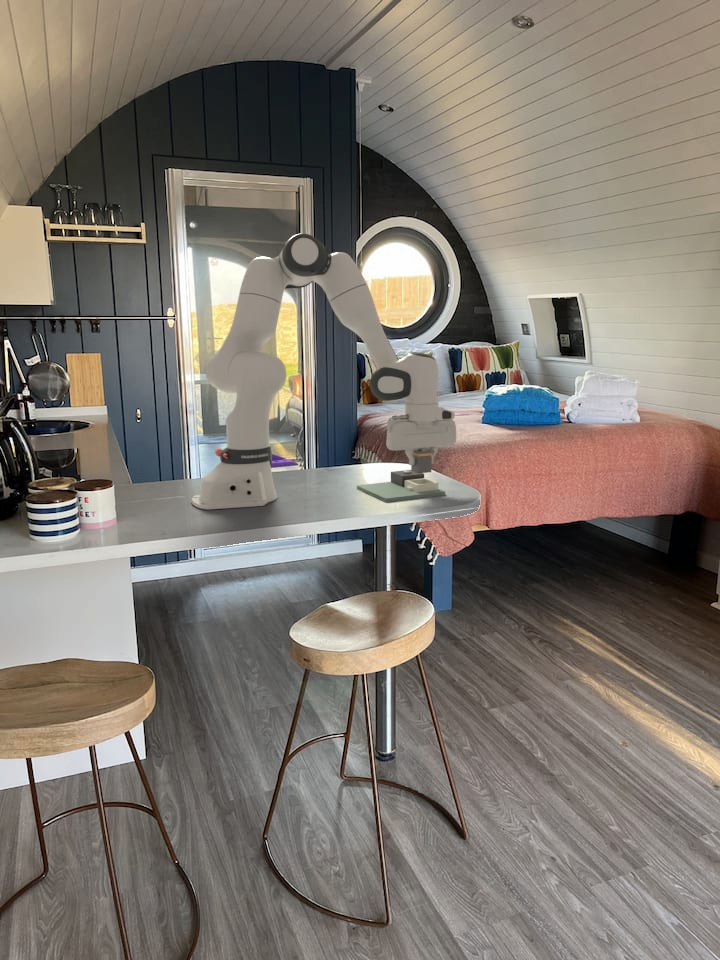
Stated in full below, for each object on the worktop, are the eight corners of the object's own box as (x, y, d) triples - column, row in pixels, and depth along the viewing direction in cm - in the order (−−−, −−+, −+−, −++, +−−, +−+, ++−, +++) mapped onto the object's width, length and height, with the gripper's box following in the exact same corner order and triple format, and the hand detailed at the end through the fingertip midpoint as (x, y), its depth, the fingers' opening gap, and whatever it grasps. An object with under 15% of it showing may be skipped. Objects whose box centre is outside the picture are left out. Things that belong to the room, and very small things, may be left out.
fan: (402, 486, 207) (402, 474, 207) (390, 482, 213) (390, 470, 213) (424, 484, 210) (424, 472, 209) (412, 479, 216) (412, 468, 216)
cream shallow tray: (414, 492, 200) (414, 485, 200) (401, 487, 206) (402, 480, 206) (438, 489, 203) (438, 482, 203) (425, 485, 209) (425, 478, 209)
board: (385, 502, 194) (385, 498, 194) (356, 488, 210) (356, 485, 210) (445, 495, 201) (445, 491, 201) (412, 482, 217) (412, 479, 217)
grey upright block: (418, 473, 201) (418, 449, 200) (411, 470, 205) (411, 447, 204) (431, 472, 203) (431, 448, 202) (423, 469, 207) (424, 445, 205)
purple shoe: (262, 471, 238) (261, 450, 237) (256, 467, 244) (255, 447, 243) (298, 468, 243) (297, 447, 241) (291, 464, 249) (290, 444, 248)
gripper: (392, 417, 194) (393, 469, 196) (459, 412, 202) (459, 462, 205) (381, 414, 199) (382, 465, 202) (447, 410, 208) (446, 458, 210)
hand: (421, 464), depth 203 cm, fingers closed on grey upright block, 4 cm apart
